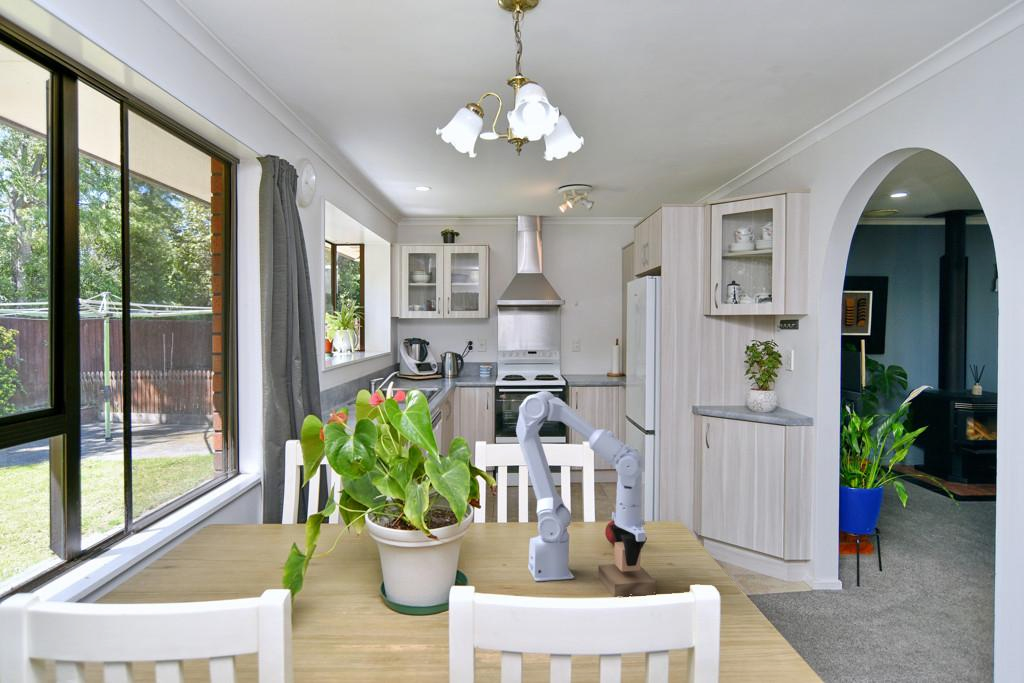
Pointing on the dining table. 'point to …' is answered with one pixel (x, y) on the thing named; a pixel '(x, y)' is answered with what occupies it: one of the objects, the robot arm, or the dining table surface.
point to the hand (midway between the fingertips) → (626, 560)
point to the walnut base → (626, 581)
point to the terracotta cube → (623, 558)
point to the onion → (610, 533)
